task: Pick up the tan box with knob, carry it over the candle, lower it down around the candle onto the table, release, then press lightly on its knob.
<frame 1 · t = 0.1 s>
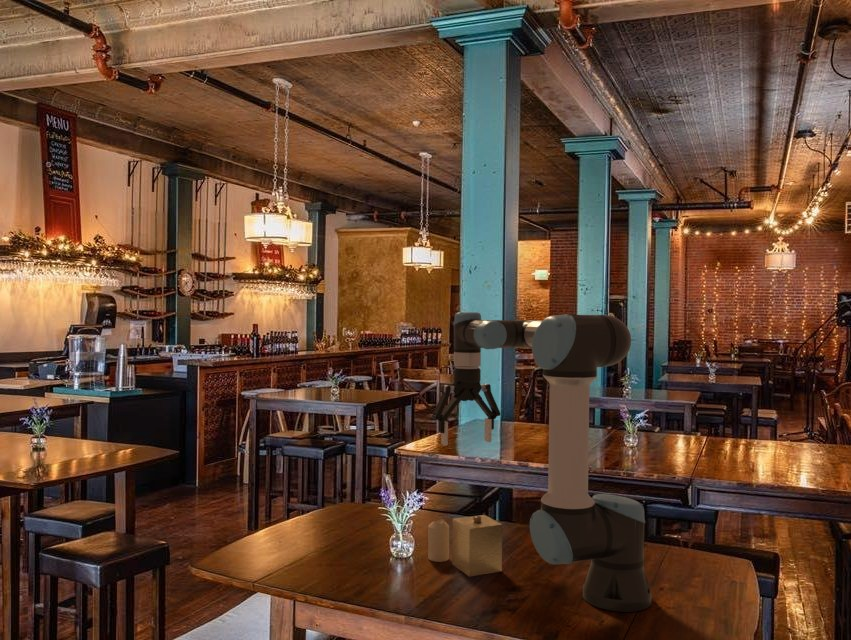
hand: (466, 443, 207), 28 cm above the table, fingers open, 13 cm apart
tan box with knob: (476, 567, 187), on the table
candle: (438, 559, 194), on the table
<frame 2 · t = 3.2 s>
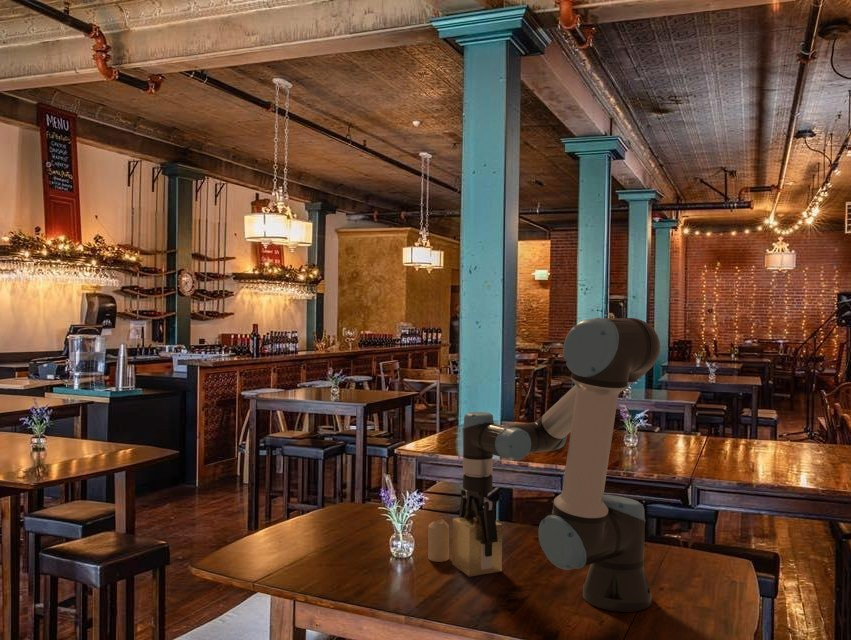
hand: (476, 561, 187), 2 cm above the table, fingers closed on tan box with knob, 9 cm apart
tan box with knob: (476, 567, 187), on the table, touching gripper
everything else where it was.
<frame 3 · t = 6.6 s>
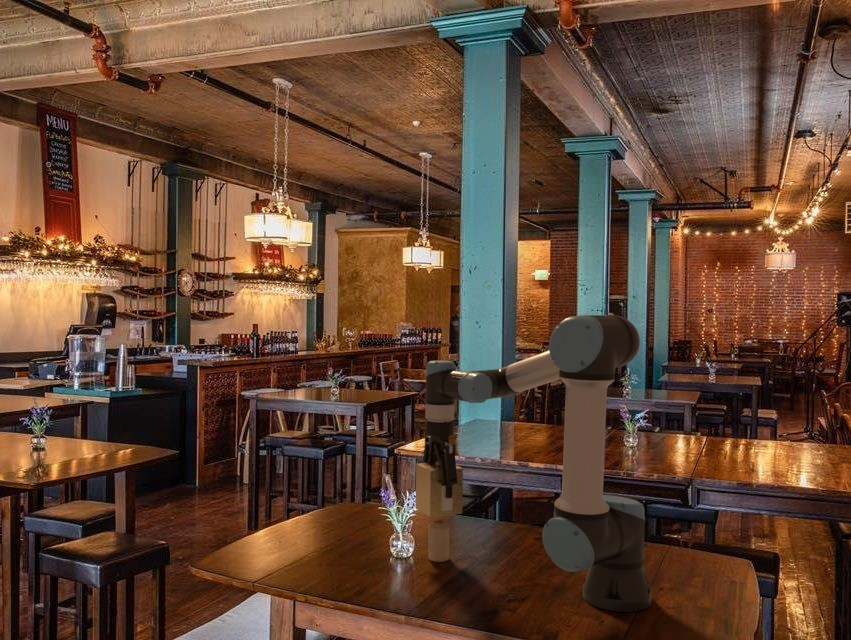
hand: (438, 504, 194), 14 cm above the table, fingers closed on tan box with knob, 9 cm apart
tan box with knob: (438, 510, 194), point 13 cm above the table, touching gripper
everything else where it was.
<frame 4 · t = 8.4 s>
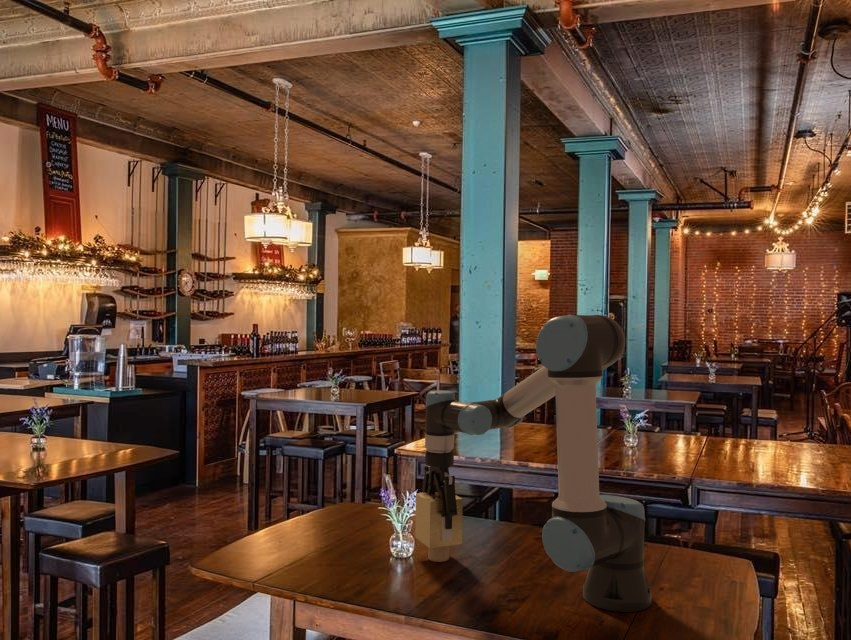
hand: (438, 535, 194), 6 cm above the table, fingers closed on tan box with knob, 9 cm apart
tan box with knob: (438, 540, 194), point 5 cm above the table, touching gripper
everything else where it was.
when the fingers open (3 cm above the table, at t = 10.1 s): tan box with knob drops 1 cm, on the table.
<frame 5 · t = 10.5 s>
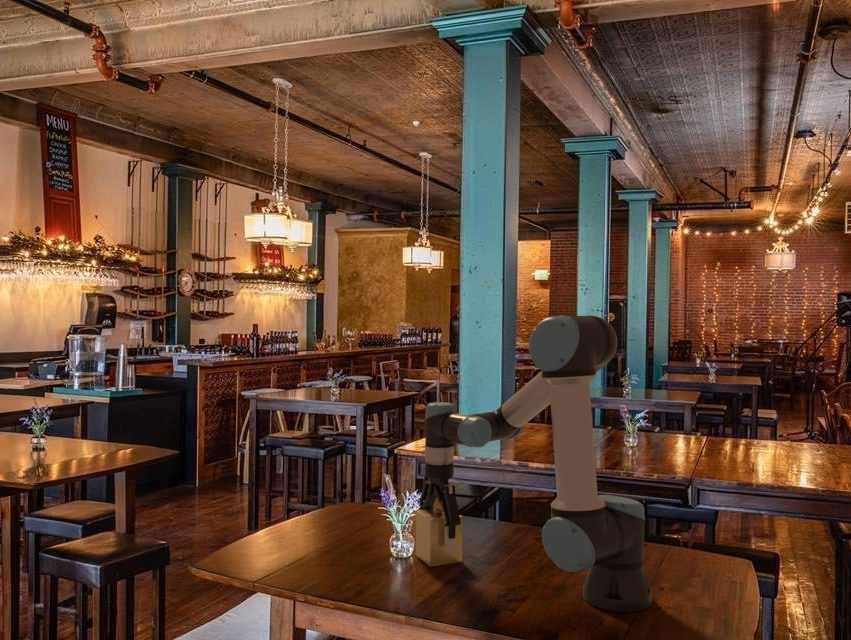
hand: (438, 542, 194), 4 cm above the table, fingers open, 13 cm apart
tan box with knob: (438, 558, 194), on the table
everything else where it was.
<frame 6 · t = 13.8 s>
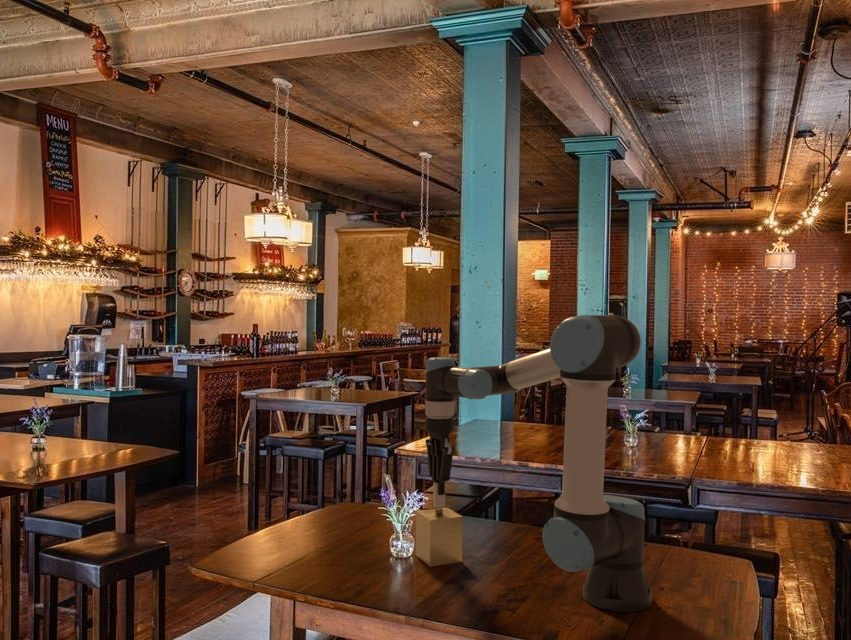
hand: (439, 506, 194), 14 cm above the table, fingers closed
nothing on the table moved.
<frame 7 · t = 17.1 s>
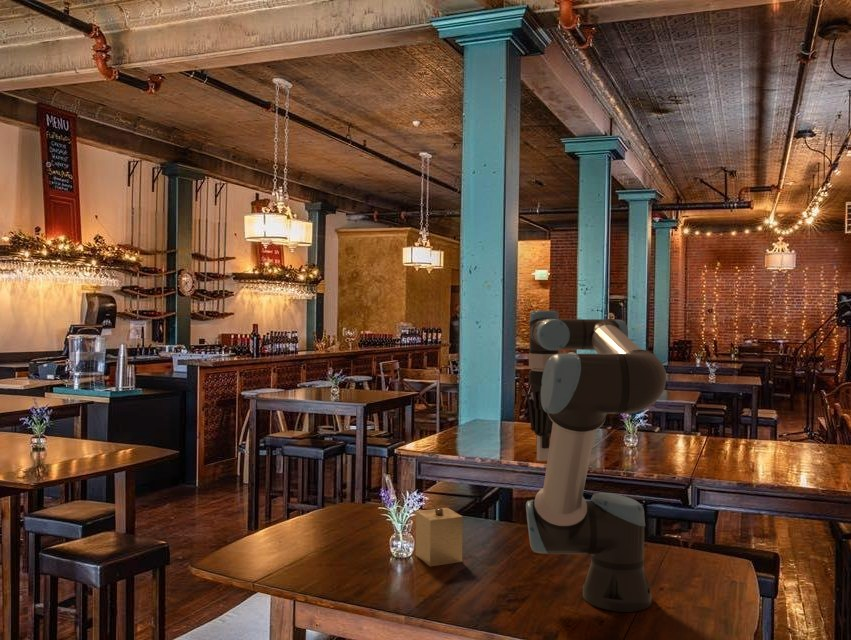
hand: (542, 460, 192), 26 cm above the table, fingers closed
nothing on the table moved.
at the end: tan box with knob 0.0 cm from the candle (horizontally); tan box with knob on the table; candle tilted 0° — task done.
